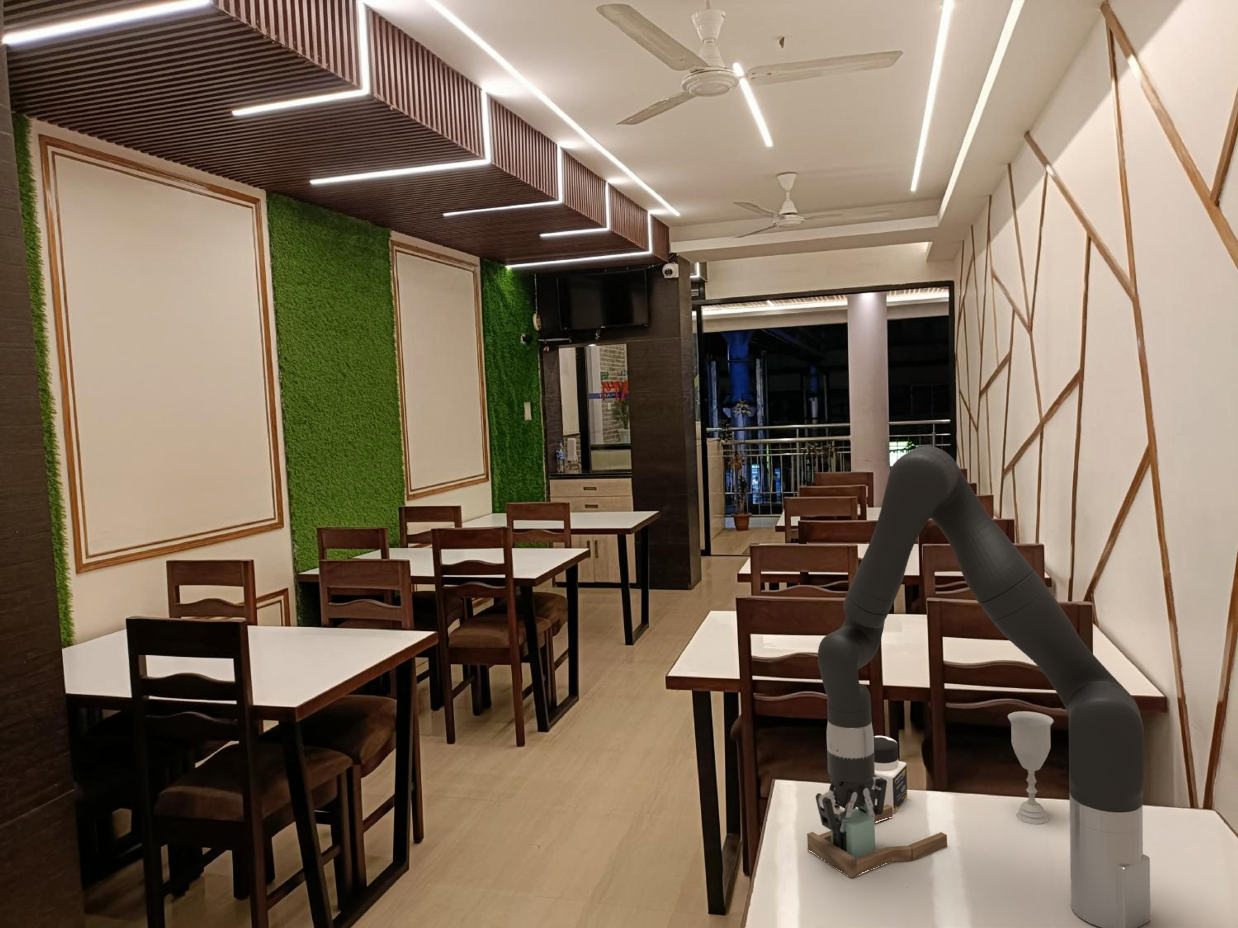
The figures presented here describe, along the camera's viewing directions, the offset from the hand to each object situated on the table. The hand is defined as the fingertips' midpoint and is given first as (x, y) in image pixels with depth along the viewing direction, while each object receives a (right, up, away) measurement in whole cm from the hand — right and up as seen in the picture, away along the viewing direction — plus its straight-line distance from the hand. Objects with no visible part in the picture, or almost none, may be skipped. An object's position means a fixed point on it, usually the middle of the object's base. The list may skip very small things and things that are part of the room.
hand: (853, 845), depth 147 cm
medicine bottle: (+10, 0, +18) cm, 21 cm away
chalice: (+34, +1, +9) cm, 35 cm away
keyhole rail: (+4, -1, +2) cm, 5 cm away
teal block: (0, -1, 0) cm, 1 cm away
